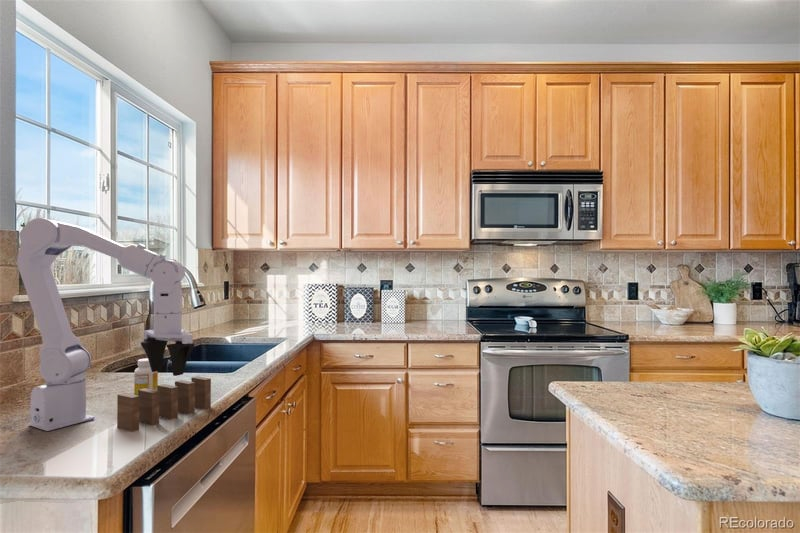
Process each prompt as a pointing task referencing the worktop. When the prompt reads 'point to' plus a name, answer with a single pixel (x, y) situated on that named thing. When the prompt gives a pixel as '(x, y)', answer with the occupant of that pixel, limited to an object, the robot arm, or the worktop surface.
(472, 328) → the worktop surface
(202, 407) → the domino
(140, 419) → the domino
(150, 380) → the supplement bottle
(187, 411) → the domino
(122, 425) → the domino
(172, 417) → the domino
